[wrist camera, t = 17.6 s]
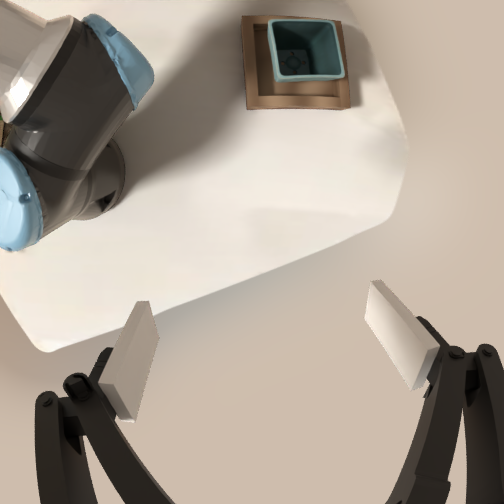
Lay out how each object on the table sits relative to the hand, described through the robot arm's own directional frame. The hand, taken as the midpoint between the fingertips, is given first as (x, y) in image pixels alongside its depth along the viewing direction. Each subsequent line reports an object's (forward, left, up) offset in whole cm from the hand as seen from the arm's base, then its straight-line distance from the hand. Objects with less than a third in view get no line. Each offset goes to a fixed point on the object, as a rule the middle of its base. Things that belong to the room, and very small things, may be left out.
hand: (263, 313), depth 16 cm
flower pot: (+9, +22, -30) cm, 38 cm away
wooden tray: (+9, +22, -31) cm, 39 cm away
